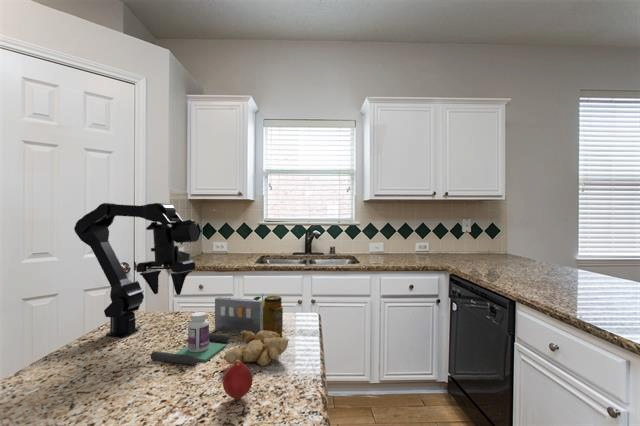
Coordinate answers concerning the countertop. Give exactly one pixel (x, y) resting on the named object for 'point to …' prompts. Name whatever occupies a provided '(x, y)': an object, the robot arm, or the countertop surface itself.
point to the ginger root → (258, 348)
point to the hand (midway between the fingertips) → (167, 294)
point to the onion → (237, 380)
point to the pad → (204, 352)
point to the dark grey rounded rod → (174, 358)
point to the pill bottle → (198, 333)
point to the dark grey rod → (218, 337)
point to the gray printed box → (238, 315)
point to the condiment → (273, 315)
